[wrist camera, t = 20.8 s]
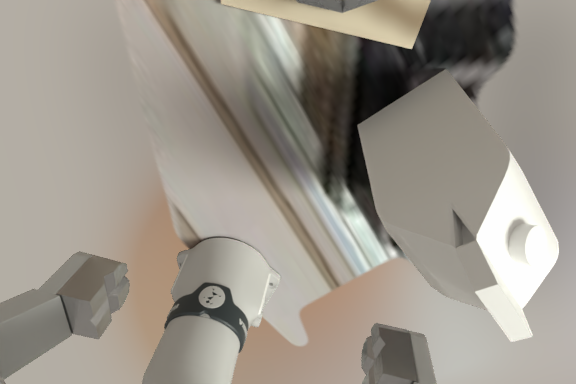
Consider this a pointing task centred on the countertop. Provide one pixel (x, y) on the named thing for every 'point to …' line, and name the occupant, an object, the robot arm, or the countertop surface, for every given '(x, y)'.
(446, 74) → the milk
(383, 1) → the ring seat
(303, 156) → the countertop surface
